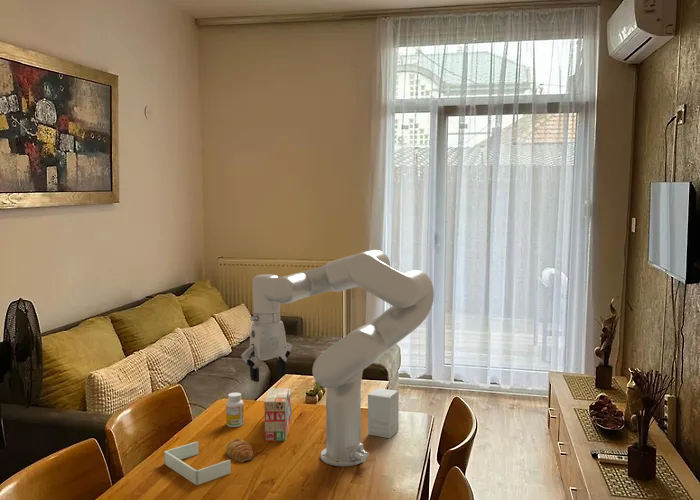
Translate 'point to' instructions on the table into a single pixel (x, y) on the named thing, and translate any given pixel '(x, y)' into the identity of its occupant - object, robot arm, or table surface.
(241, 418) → the supplement bottle
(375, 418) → the supplement box
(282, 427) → the stack of blocks
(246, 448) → the pastry
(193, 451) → the frame
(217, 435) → the table surface
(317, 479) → the table surface
